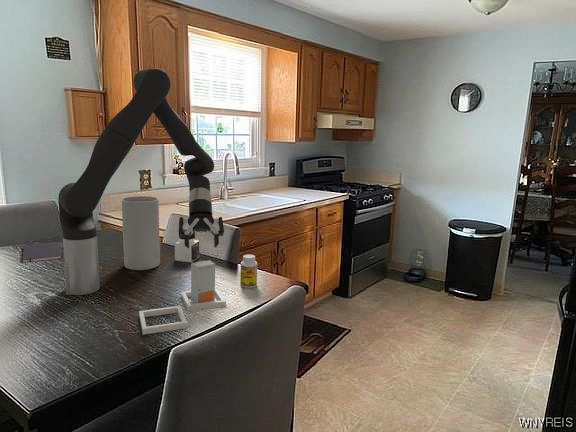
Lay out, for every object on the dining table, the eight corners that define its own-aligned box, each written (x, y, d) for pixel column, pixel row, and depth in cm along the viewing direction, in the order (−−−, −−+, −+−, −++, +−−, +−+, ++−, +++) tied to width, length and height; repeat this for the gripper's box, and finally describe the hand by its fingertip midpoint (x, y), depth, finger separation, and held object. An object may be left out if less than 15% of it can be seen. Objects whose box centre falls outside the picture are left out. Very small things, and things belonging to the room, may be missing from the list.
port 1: (142, 334, 103) (142, 329, 103) (138, 313, 115) (138, 308, 115) (187, 327, 108) (187, 322, 107) (179, 307, 119) (179, 302, 119)
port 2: (188, 311, 117) (188, 306, 117) (180, 294, 129) (180, 289, 129) (225, 305, 122) (225, 301, 122) (215, 290, 133) (215, 285, 133)
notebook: (62, 259, 158) (59, 245, 176) (61, 255, 158) (59, 241, 176) (22, 263, 152) (24, 248, 170) (22, 259, 151) (23, 244, 169)
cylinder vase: (116, 267, 150) (113, 199, 145) (140, 258, 162) (138, 195, 157) (144, 273, 146) (142, 203, 141) (167, 263, 157) (165, 198, 152)
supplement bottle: (237, 287, 137) (237, 257, 135) (244, 281, 142) (244, 252, 140) (253, 289, 135) (253, 259, 133) (259, 283, 140) (260, 254, 138)
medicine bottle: (191, 262, 159) (191, 232, 157) (174, 260, 161) (174, 230, 158) (199, 257, 166) (199, 228, 164) (182, 255, 167) (182, 226, 165)
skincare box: (196, 305, 121) (196, 266, 119) (190, 300, 124) (190, 262, 122) (215, 301, 125) (215, 263, 122) (209, 296, 128) (209, 259, 126)
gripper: (178, 198, 134) (178, 241, 126) (222, 197, 138) (225, 240, 129) (178, 210, 140) (178, 253, 132) (221, 210, 144) (223, 251, 135)
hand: (202, 246), depth 130 cm, fingers open, 8 cm apart
